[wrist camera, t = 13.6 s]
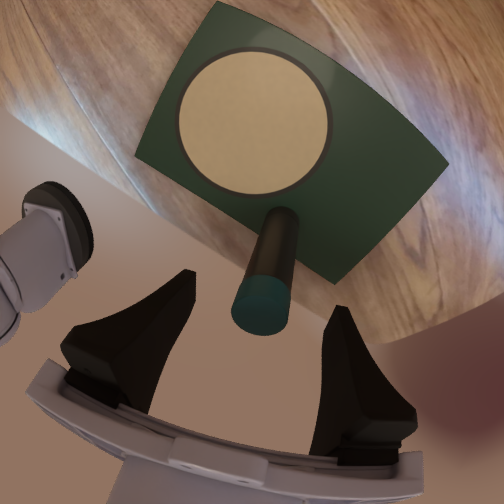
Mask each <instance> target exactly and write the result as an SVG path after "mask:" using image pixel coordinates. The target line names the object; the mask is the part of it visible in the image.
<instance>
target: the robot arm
mask: <svg viewBox="0 0 504 504" xmlns="http://www.w3.org/2000/svg"><path fill="white" fill-rule="evenodd" d="M24 209H25V214H26V217H24V218H23V219H21V220H20V221H19V222H17V223H16V224H15V225H13V226H12V227H11V228H9V229H8V230H7V231H5V232H4V233H3V234H1V235H0V347H1V346H3V345H4V344H6V343H7V342H8V341H9V340H10V339H11V338H12V337H13V336H14V334H15V333H16V331H17V329H18V327H19V323H20V318H21V314H20V311H21V312H24V313H32V312H35V311H37V310H39V309H41V308H42V307H44V306H45V305H46V304H47V303H48V302H49V301H50V299H51V298H52V297H53V296H54V295H55V294H56V293H57V292H58V291H59V289H61V287H62V286H63V285H64V284H65V283H66V282H67V281H68V280H69V279H70V278H71V277H72V278H74V279H76V278H77V277H78V275H77V271H76V268H75V264H74V260H73V256H72V253H71V249H70V244H69V240H68V236H67V231H66V226H65V222H64V216H63V212H62V211H61V210H59V209H55V208H51V207H46V206H42V205H38V204H34V203H30V202H25V203H24ZM195 301H196V272H194V271H191V270H187V269H184V270H183V271H181V272H180V273H179V274H177V275H176V276H175V277H174V278H172V279H171V280H170V281H168V282H167V283H166V284H164V285H163V286H162V287H160V288H159V289H158V290H156V291H155V292H153V293H152V294H150V295H149V296H147V297H146V298H144V299H143V300H141V301H139V302H138V303H136V304H134V305H132V306H130V307H128V308H126V309H124V310H122V311H120V312H118V313H116V314H113V315H111V316H108V317H105V318H103V319H100V320H96V321H93V322H90V323H86V324H82V325H77V326H74V327H73V328H72V330H71V331H70V332H69V333H68V335H67V336H66V338H65V339H64V340H63V341H62V343H61V344H60V347H61V351H62V353H63V355H64V356H65V358H66V360H67V361H68V363H69V365H70V366H71V368H70V369H69V371H67V370H66V369H65V368H64V367H62V366H61V365H59V364H57V363H56V362H54V361H53V360H51V359H47V360H46V362H45V363H44V365H43V366H42V367H41V369H40V370H39V372H38V373H37V375H36V376H35V378H34V379H33V381H32V382H31V384H30V385H29V387H28V388H27V390H26V391H25V393H26V395H27V396H28V397H29V398H30V399H31V400H32V401H33V402H34V403H35V404H36V405H37V406H38V407H39V408H40V409H41V410H42V411H43V412H45V413H46V414H47V415H48V416H50V417H51V418H52V419H54V420H55V421H57V422H58V423H60V424H61V425H63V426H64V427H66V428H67V429H69V430H70V431H72V432H73V433H75V434H76V435H78V436H79V437H81V438H83V439H84V440H86V441H88V442H89V443H91V444H93V445H94V446H96V447H98V448H99V449H101V450H103V451H105V452H107V453H108V454H110V455H112V456H114V457H116V458H118V459H120V460H122V461H124V463H123V465H122V468H121V470H120V472H119V474H118V477H117V479H116V482H115V484H114V486H113V489H112V491H111V493H110V496H109V498H108V501H107V503H106V504H388V503H395V502H398V501H402V500H406V499H409V498H412V497H415V496H418V495H421V494H423V493H424V475H423V452H422V451H413V452H403V453H400V454H399V453H398V448H401V446H402V445H401V441H402V440H403V439H405V438H406V437H408V436H409V435H411V434H412V433H413V432H415V431H416V429H417V427H418V422H417V413H416V409H415V408H414V407H413V406H412V405H410V404H409V403H408V402H407V401H406V400H405V399H404V398H403V397H402V396H401V395H400V394H399V393H398V392H397V391H396V389H394V387H393V386H392V385H391V384H390V382H389V381H388V380H387V378H386V377H385V376H384V375H383V373H382V372H381V370H380V369H379V368H378V366H377V364H376V363H375V361H374V360H373V358H372V357H371V355H370V353H369V351H368V349H367V348H366V345H365V343H364V341H363V339H362V337H361V335H360V333H359V331H358V329H357V327H356V324H355V322H354V320H353V318H352V315H351V313H350V311H349V309H348V307H345V306H340V305H336V307H335V309H334V311H333V313H332V315H331V317H330V319H329V322H328V324H327V326H326V328H325V330H324V333H323V342H322V384H321V397H320V404H319V410H318V416H317V421H316V426H315V431H314V435H313V440H312V444H311V448H310V451H309V455H303V454H295V453H288V452H281V451H275V450H269V449H264V448H258V447H253V446H248V445H244V444H239V443H235V442H231V441H227V440H223V439H219V438H215V437H211V436H208V435H205V434H201V433H198V432H195V431H191V430H188V429H185V428H182V427H179V426H176V425H174V424H171V423H168V422H165V421H162V420H160V419H157V418H155V417H152V416H150V415H148V411H149V408H150V405H151V402H152V398H153V395H154V392H155V389H156V387H157V384H158V381H159V378H160V375H161V373H162V370H163V368H164V365H165V363H166V360H167V358H168V355H169V353H170V351H171V349H172V347H173V345H174V344H175V341H176V340H177V338H178V336H179V335H180V333H181V331H182V329H183V327H184V326H185V324H186V322H187V320H188V318H189V316H190V314H191V311H192V309H193V306H194V304H195Z"/></svg>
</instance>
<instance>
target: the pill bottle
mask: <svg viewBox="0 0 504 504" xmlns="http://www.w3.org/2000/svg"><path fill="white" fill-rule="evenodd" d="M298 231H299V218H298V216H297V214H296V213H295V212H294V211H293V210H292V209H290V208H288V207H284V206H279V207H275V208H273V209H271V210H270V211H269V212H268V213H267V215H266V217H265V220H264V223H263V226H262V228H261V231H260V234H259V237H258V239H257V242H256V245H255V248H254V250H253V253H252V256H251V259H250V261H249V264H248V267H247V270H246V273H245V275H244V278H243V281H242V283H241V285H240V287H239V289H238V292H237V295H236V297H235V300H234V303H233V305H232V308H231V314H232V318H233V320H234V322H235V323H236V324H237V325H238V326H239V327H240V328H241V329H243V330H244V331H246V332H248V333H251V334H254V335H260V336H269V335H273V334H276V333H278V332H280V331H281V330H283V329H284V328H285V326H286V324H287V322H288V315H289V308H290V301H291V287H292V279H293V272H294V264H295V256H296V248H297V239H298Z"/></svg>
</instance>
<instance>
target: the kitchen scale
mask: <svg viewBox="0 0 504 504" xmlns="http://www.w3.org/2000/svg"><path fill="white" fill-rule="evenodd" d="M135 157H136V158H138V159H140V160H141V161H143V162H145V163H146V164H148V165H149V166H151V167H153V168H154V169H156V170H158V171H159V172H161V173H162V174H164V175H166V176H167V177H169V178H170V179H172V180H174V181H175V182H177V183H178V184H180V185H182V186H183V187H185V188H186V189H188V190H189V191H191V192H193V193H194V194H196V195H197V196H199V197H201V198H202V199H204V200H205V201H207V202H208V203H210V204H212V205H213V206H215V207H216V208H218V209H219V210H221V211H223V212H224V213H226V214H227V215H229V216H230V217H232V218H233V219H235V220H237V221H238V222H240V223H241V224H243V225H244V226H246V227H247V228H249V229H251V230H252V231H254V232H255V233H257V234H258V235H259V234H260V231H261V228H262V226H263V223H264V220H265V217H266V215H267V213H268V212H269V211H270V210H271V209H273V208H275V207H279V206H284V207H288V208H290V209H292V210H293V211H294V212H295V213H296V214H297V216H298V218H299V231H298V239H297V248H296V256H295V259H296V260H298V261H299V262H301V263H302V264H304V265H305V266H307V267H308V268H310V269H311V270H313V271H314V272H316V273H317V274H319V275H320V276H322V277H323V278H325V279H326V280H328V281H329V282H331V283H332V284H334V285H335V284H336V283H337V282H339V281H340V280H341V279H342V278H343V277H344V276H345V275H346V274H347V273H348V272H349V271H350V270H351V269H352V268H353V267H354V266H355V265H356V264H358V263H359V262H360V261H361V260H362V259H363V258H364V257H365V256H366V255H367V254H368V253H369V252H370V251H371V250H372V249H373V248H374V247H375V246H376V245H377V244H378V243H379V242H380V241H381V240H382V239H383V238H384V237H385V236H386V235H387V234H388V232H389V231H390V230H391V229H392V228H393V227H394V226H395V225H396V224H397V223H398V222H399V221H400V220H401V219H402V218H403V217H404V216H405V214H406V213H407V212H408V211H409V210H410V209H411V208H412V207H413V206H414V205H415V204H416V202H417V201H418V200H419V199H420V198H421V197H422V196H423V195H424V193H425V192H426V191H427V190H428V189H429V188H430V187H431V185H432V184H433V183H434V182H435V181H436V180H437V178H438V177H439V176H440V175H441V174H442V172H443V171H444V170H445V169H446V168H447V166H448V165H449V163H448V162H447V160H446V159H445V158H444V157H443V156H442V155H441V154H440V152H439V151H438V150H437V149H436V148H435V147H434V146H433V145H432V144H431V143H430V142H429V140H428V139H427V138H426V137H425V136H424V135H423V134H422V133H421V132H420V131H419V130H418V129H417V128H416V127H415V126H414V125H413V124H412V123H411V122H410V121H409V120H408V119H406V118H405V117H404V116H403V115H402V114H401V113H400V112H399V111H398V110H397V109H396V108H394V107H393V106H392V105H391V104H390V103H389V102H388V101H386V100H385V99H384V98H383V97H382V96H381V95H379V94H378V93H377V92H376V91H375V90H373V89H372V88H371V87H370V86H368V85H367V84H366V83H364V82H363V81H362V80H361V79H359V78H358V77H357V76H355V75H354V74H353V73H351V72H350V71H348V70H347V69H346V68H344V67H343V66H341V65H340V64H338V63H337V62H336V61H334V60H333V59H331V58H330V57H328V56H327V55H325V54H323V53H322V52H320V51H319V50H317V49H316V48H314V47H312V46H311V45H309V44H307V43H306V42H304V41H302V40H300V39H299V38H297V37H295V36H293V35H292V34H290V33H288V32H286V31H284V30H282V29H280V28H279V27H277V26H275V25H273V24H271V23H269V22H267V21H265V20H262V19H260V18H258V17H256V16H254V15H252V14H249V13H247V12H245V11H242V10H240V9H238V8H235V7H233V6H230V5H228V4H225V3H222V2H220V1H216V3H215V4H214V6H213V7H212V8H211V10H210V11H209V13H208V14H207V16H206V17H205V19H204V20H203V22H202V23H201V25H200V26H199V28H198V29H197V31H196V33H195V34H194V36H193V37H192V39H191V41H190V42H189V44H188V46H187V47H186V49H185V51H184V52H183V54H182V56H181V58H180V59H179V61H178V63H177V65H176V67H175V68H174V70H173V72H172V74H171V76H170V78H169V80H168V82H167V84H166V86H165V88H164V90H163V92H162V94H161V96H160V98H159V100H158V102H157V104H156V106H155V108H154V110H153V113H152V115H151V117H150V119H149V122H148V124H147V126H146V128H145V131H144V133H143V136H142V138H141V140H140V143H139V145H138V148H137V150H136V153H135Z"/></svg>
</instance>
